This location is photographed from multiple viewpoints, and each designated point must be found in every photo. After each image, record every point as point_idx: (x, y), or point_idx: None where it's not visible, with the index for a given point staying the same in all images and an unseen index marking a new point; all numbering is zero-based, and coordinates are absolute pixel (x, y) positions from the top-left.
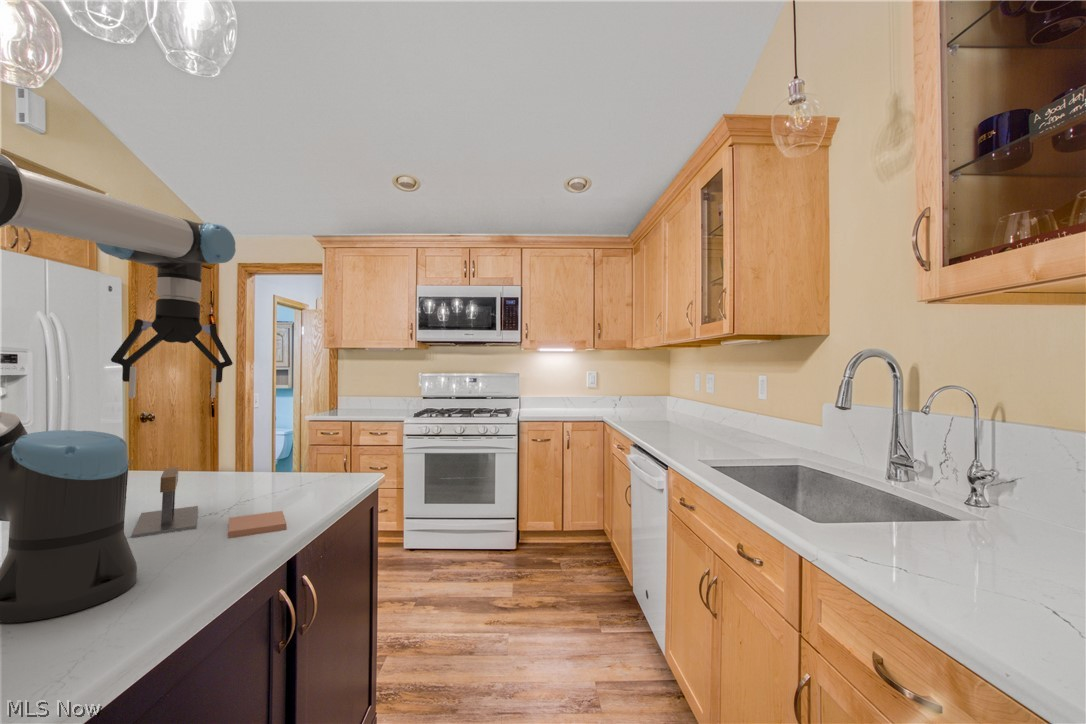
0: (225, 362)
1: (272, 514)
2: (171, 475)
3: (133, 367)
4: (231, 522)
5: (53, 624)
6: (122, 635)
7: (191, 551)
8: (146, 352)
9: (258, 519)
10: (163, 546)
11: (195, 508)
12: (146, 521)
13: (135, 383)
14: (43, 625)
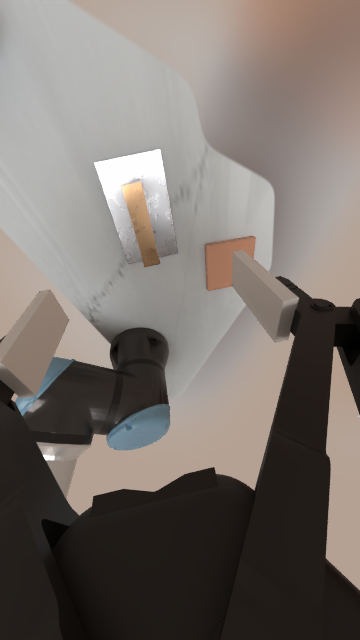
0: (341, 342)
1: (244, 248)
2: (152, 254)
3: (32, 393)
4: (209, 265)
5: None
6: (179, 379)
7: (185, 307)
8: (15, 436)
9: (231, 263)
10: (163, 292)
11: (160, 166)
12: (121, 217)
13: (41, 326)
14: None
